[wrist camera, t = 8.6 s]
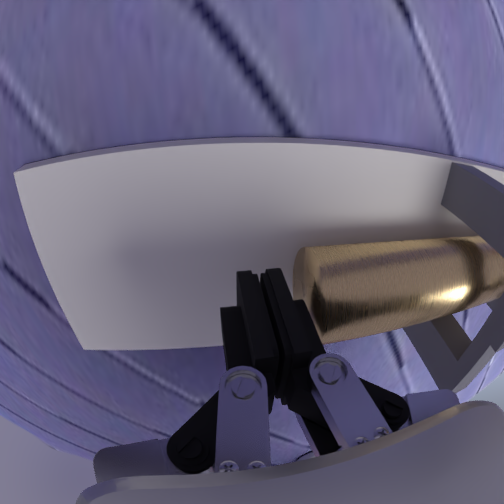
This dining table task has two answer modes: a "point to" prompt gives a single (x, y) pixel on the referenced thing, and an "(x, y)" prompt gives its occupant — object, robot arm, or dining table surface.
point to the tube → (394, 283)
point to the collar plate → (244, 231)
